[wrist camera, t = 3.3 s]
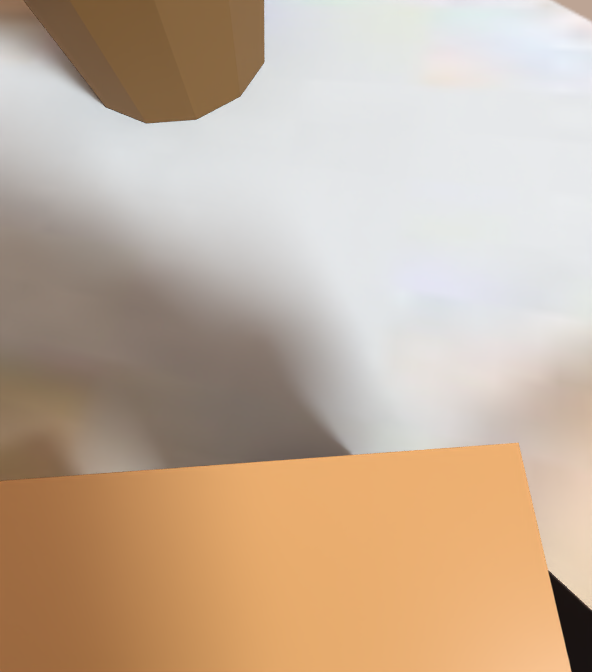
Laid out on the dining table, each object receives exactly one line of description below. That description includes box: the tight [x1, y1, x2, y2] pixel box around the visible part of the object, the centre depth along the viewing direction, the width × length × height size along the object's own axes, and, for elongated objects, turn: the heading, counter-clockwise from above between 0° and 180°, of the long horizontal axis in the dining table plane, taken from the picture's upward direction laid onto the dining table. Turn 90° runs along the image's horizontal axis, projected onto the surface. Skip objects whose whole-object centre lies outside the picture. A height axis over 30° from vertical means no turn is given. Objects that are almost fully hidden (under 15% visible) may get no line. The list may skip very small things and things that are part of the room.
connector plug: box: [0, 443, 571, 672], centre depth 9 cm, size 4×4×13 cm
